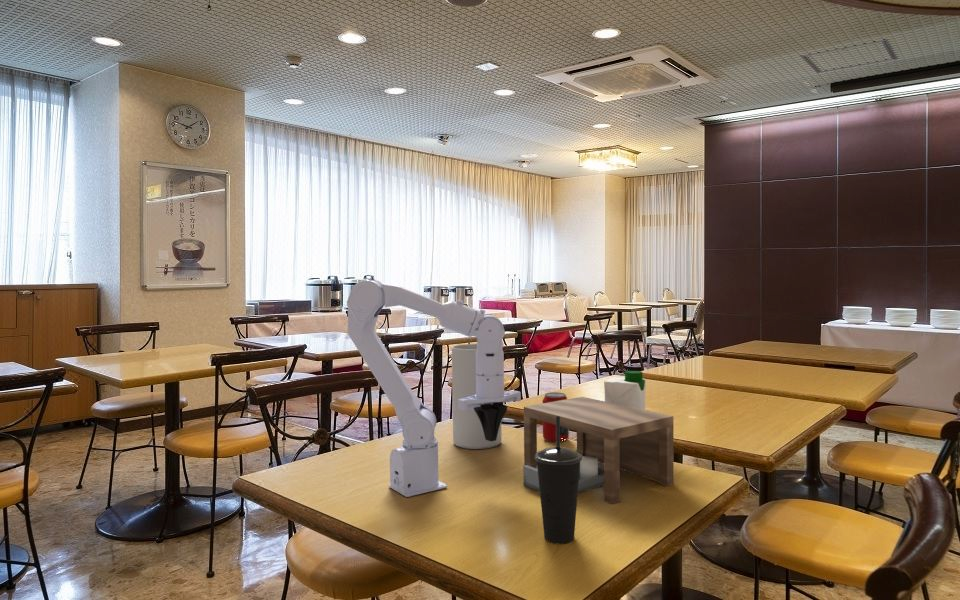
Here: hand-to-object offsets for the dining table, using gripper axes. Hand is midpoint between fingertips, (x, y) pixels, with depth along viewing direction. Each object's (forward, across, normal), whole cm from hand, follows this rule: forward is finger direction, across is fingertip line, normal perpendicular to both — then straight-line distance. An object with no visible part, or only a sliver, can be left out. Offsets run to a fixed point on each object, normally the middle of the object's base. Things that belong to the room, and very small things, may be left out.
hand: (490, 440), depth 126 cm
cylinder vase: (+10, +16, +28) cm, 34 cm away
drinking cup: (+10, -6, -27) cm, 29 cm away
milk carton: (+10, +38, -2) cm, 39 cm away
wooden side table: (+9, +21, -9) cm, 25 cm away
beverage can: (+10, +34, +18) cm, 40 cm away
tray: (+9, +13, -9) cm, 19 cm away
